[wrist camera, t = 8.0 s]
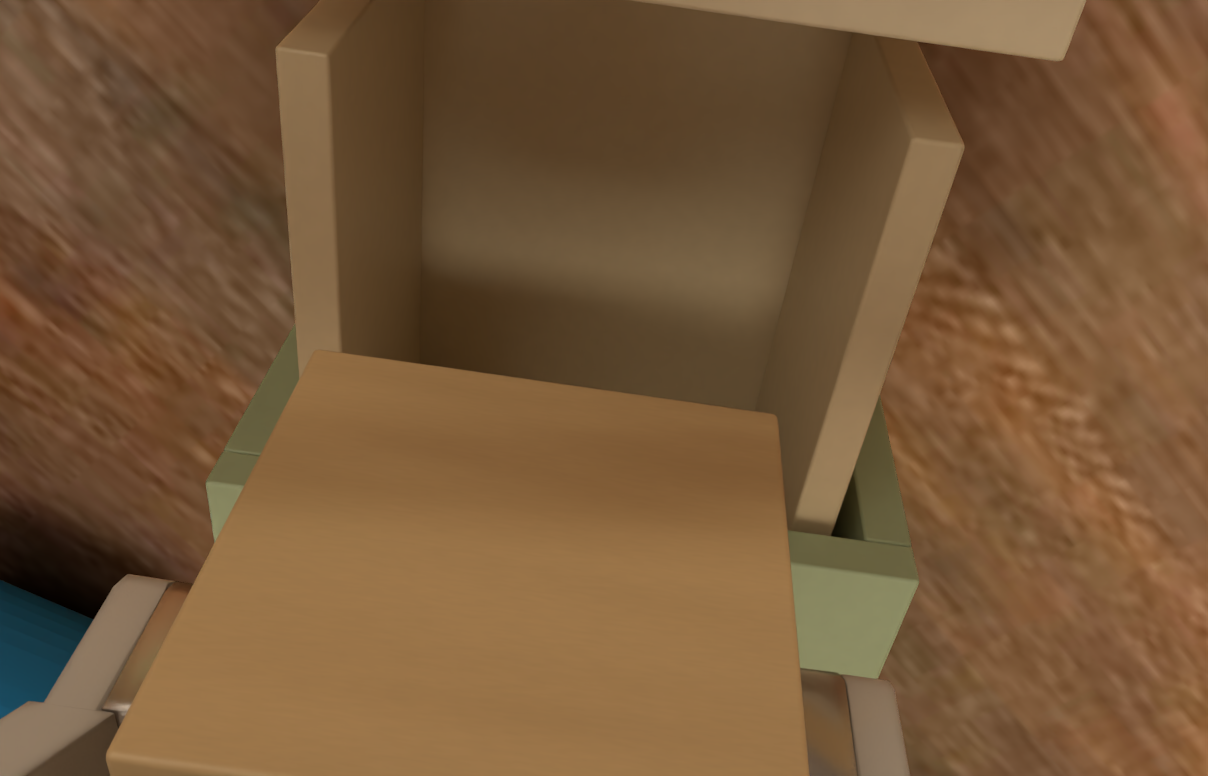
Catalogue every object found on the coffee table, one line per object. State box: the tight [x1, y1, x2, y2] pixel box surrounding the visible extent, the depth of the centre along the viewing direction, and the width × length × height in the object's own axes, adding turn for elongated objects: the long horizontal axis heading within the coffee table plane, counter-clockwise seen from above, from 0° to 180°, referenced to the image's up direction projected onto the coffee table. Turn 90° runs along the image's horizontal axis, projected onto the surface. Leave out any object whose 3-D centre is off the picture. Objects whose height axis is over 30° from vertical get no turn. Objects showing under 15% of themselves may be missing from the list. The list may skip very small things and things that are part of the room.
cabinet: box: [206, 325, 919, 679], centre depth 28 cm, size 16×13×10 cm
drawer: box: [275, 0, 1086, 536], centre depth 20 cm, size 19×12×8 cm, turn 173°
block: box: [106, 349, 810, 776], centre depth 11 cm, size 5×5×5 cm
